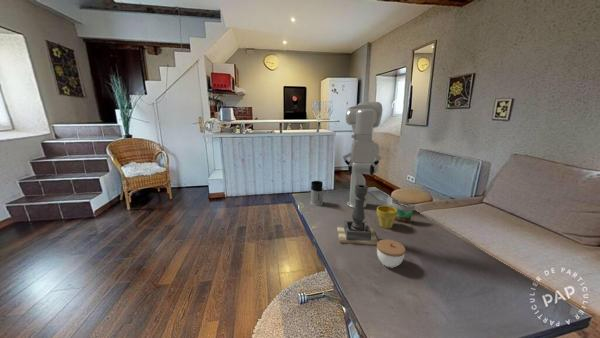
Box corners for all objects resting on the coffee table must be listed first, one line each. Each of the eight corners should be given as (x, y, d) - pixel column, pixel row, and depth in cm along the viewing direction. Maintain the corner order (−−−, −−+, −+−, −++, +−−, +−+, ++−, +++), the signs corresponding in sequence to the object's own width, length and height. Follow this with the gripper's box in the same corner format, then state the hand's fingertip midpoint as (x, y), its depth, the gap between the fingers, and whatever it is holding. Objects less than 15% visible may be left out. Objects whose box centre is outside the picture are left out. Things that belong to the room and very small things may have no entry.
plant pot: (374, 220, 131) (375, 204, 129) (393, 222, 129) (395, 206, 127) (376, 229, 121) (378, 212, 119) (397, 231, 119) (399, 213, 117)
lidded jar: (404, 274, 87) (407, 253, 85) (375, 268, 91) (376, 247, 88) (402, 258, 97) (404, 238, 95) (376, 253, 100) (377, 233, 98)
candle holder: (363, 231, 116) (368, 185, 109) (362, 237, 110) (367, 189, 104) (350, 229, 117) (355, 183, 111) (349, 235, 112) (354, 187, 105)
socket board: (337, 229, 121) (337, 219, 119) (371, 230, 120) (372, 221, 118) (339, 242, 108) (340, 232, 107) (378, 244, 107) (379, 234, 106)
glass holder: (316, 199, 162) (316, 179, 158) (331, 205, 152) (332, 184, 148) (307, 203, 156) (307, 182, 152) (322, 209, 146) (323, 187, 142)
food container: (390, 221, 130) (391, 205, 127) (390, 217, 135) (392, 201, 133) (414, 225, 125) (416, 208, 123) (413, 220, 131) (415, 204, 128)
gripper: (344, 138, 99) (343, 176, 104) (385, 139, 98) (381, 176, 102) (343, 136, 106) (341, 171, 111) (380, 136, 105) (377, 172, 110)
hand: (360, 174), depth 107 cm, fingers open, 9 cm apart
